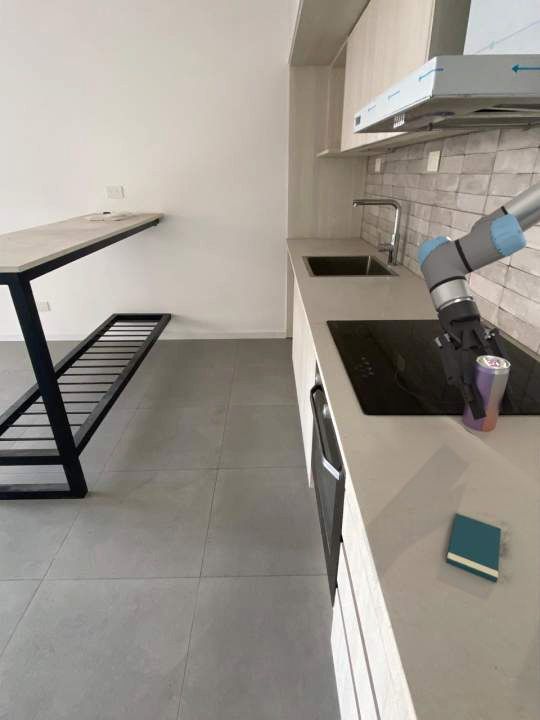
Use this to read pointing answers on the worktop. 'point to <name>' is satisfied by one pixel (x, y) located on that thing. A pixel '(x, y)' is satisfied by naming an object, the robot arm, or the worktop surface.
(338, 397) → the worktop surface
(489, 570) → the teal hardcover book
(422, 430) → the worktop surface
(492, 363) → the beverage can
